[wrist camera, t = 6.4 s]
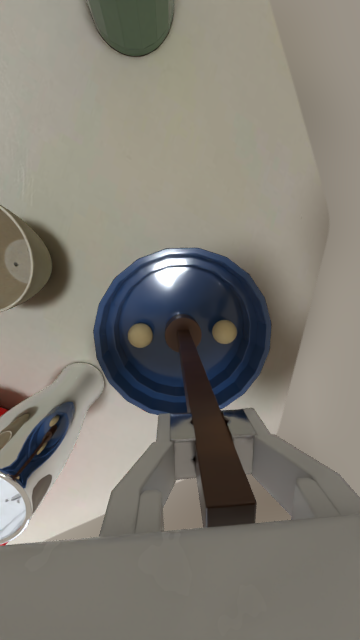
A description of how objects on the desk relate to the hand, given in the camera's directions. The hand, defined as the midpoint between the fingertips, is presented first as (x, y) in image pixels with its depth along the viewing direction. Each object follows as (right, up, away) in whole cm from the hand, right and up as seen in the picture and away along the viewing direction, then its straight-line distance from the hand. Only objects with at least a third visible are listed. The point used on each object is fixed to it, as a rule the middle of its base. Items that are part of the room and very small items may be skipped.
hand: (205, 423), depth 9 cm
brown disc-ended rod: (-1, +3, +16) cm, 17 cm away
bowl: (-1, +4, +17) cm, 17 cm away
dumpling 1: (-6, +3, +15) cm, 16 cm away
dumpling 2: (+4, +3, +15) cm, 16 cm away
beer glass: (-15, -4, +18) cm, 23 cm away
